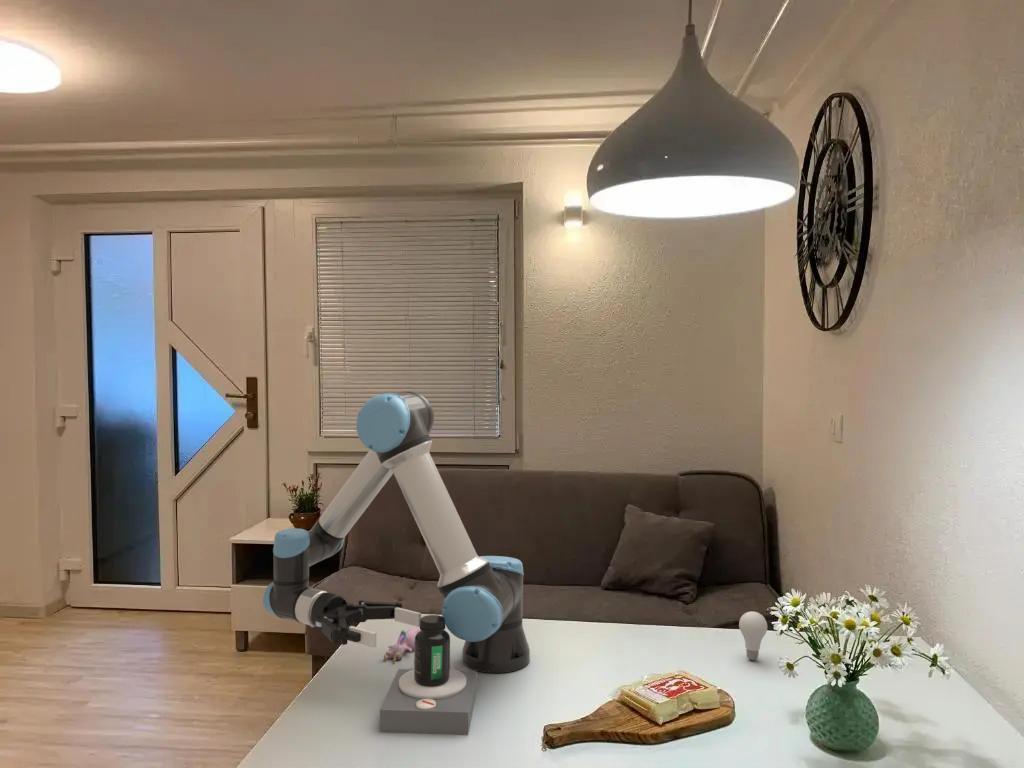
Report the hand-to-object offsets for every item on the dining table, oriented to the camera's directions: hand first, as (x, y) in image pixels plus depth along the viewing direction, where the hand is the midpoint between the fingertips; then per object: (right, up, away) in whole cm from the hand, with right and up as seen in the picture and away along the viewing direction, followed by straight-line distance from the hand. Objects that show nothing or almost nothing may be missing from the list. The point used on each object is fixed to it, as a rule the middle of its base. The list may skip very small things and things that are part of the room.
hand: (398, 629), depth 151 cm
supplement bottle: (+7, -8, -4) cm, 12 cm away
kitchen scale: (+7, -13, -6) cm, 16 cm away
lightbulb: (+77, -14, +20) cm, 81 cm away
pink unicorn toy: (-2, -13, +23) cm, 26 cm away
